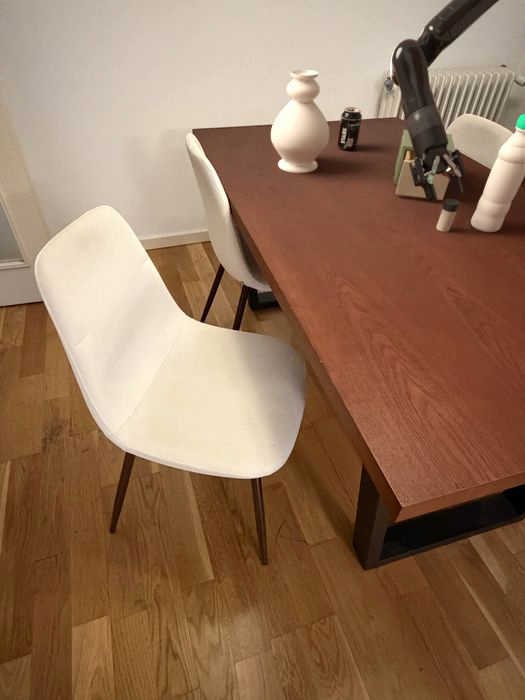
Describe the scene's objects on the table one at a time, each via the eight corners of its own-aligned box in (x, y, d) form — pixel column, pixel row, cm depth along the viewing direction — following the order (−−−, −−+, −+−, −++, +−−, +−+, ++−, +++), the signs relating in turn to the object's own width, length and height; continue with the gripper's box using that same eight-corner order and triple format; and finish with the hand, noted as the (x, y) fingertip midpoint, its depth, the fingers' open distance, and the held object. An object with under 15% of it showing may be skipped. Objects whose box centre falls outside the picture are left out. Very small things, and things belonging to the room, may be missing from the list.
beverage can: (336, 144, 143) (341, 106, 135) (355, 145, 143) (361, 106, 135) (337, 151, 138) (343, 112, 130) (357, 151, 138) (364, 112, 130)
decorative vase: (332, 161, 132) (344, 69, 114) (314, 180, 120) (324, 82, 103) (282, 152, 137) (286, 63, 119) (261, 170, 125) (261, 75, 108)
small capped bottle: (446, 225, 101) (456, 198, 97) (451, 232, 99) (462, 204, 94) (433, 225, 101) (442, 198, 96) (438, 232, 99) (448, 204, 94)
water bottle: (499, 235, 98) (553, 122, 80) (469, 230, 100) (515, 118, 82) (499, 223, 103) (549, 113, 85) (469, 218, 104) (513, 109, 87)
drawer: (442, 201, 109) (454, 168, 103) (395, 196, 111) (403, 162, 105) (440, 180, 119) (450, 149, 113) (397, 175, 121) (404, 144, 115)
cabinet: (442, 190, 117) (455, 150, 109) (393, 184, 119) (403, 145, 111) (439, 171, 127) (451, 134, 119) (395, 166, 129) (404, 129, 122)
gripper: (414, 126, 90) (436, 196, 90) (460, 118, 94) (480, 185, 95) (393, 144, 97) (413, 209, 98) (437, 136, 101) (455, 198, 102)
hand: (446, 197), depth 96 cm, fingers open, 8 cm apart
